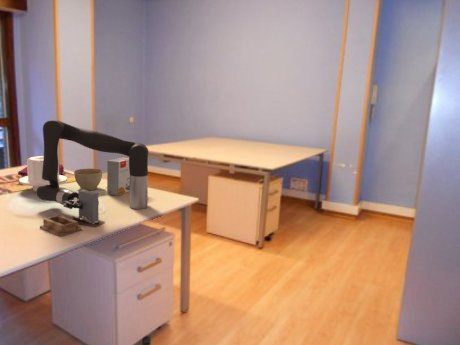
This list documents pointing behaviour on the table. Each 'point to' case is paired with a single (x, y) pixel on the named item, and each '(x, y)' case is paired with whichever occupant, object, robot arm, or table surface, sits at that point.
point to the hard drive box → (118, 176)
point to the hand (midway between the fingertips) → (90, 205)
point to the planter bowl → (88, 178)
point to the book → (24, 173)
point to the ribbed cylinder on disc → (38, 173)
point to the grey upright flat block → (88, 205)
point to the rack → (60, 225)
